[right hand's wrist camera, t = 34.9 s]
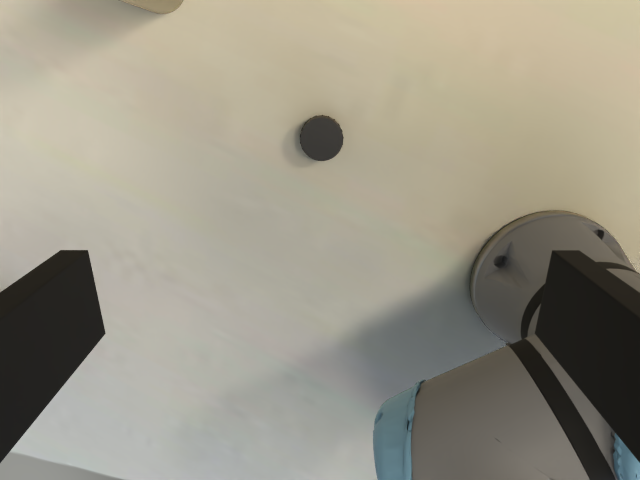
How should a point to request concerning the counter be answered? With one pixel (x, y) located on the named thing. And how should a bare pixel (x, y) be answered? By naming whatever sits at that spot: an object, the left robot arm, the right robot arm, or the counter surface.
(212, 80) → the counter surface
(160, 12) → the bottle
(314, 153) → the cap
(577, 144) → the counter surface
